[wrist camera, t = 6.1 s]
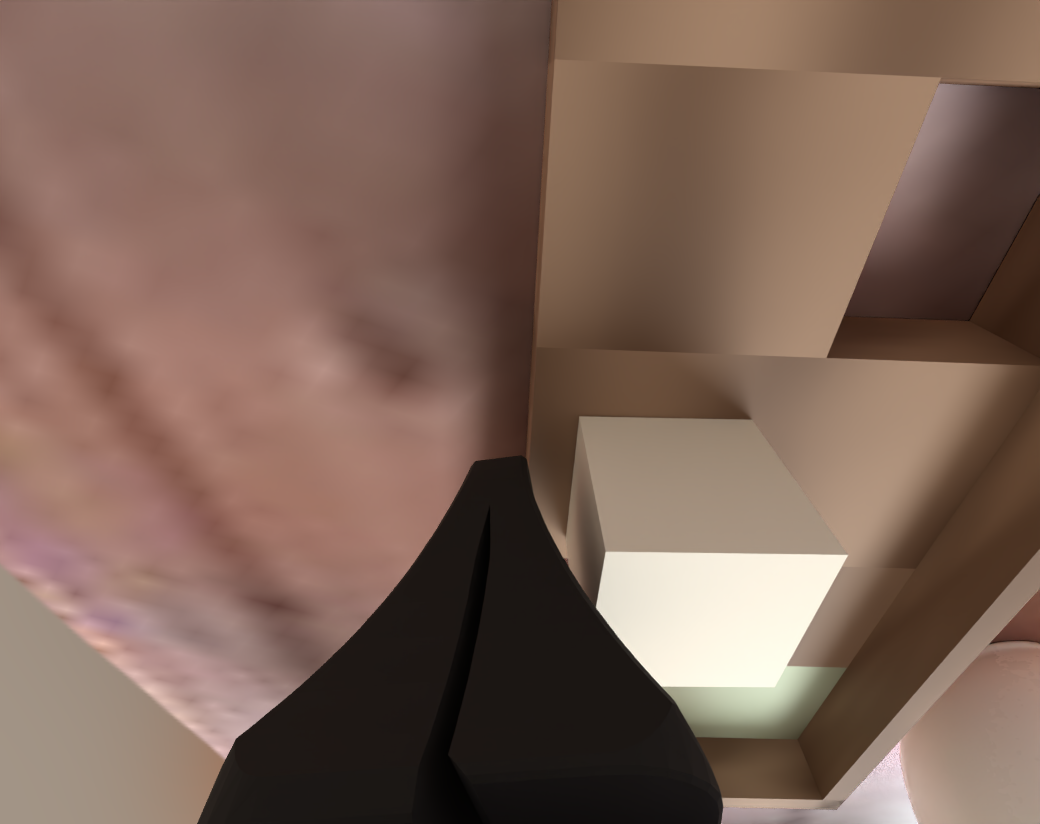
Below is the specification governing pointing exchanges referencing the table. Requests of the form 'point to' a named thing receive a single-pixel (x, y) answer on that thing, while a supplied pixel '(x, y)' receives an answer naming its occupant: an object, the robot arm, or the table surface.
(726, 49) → the board
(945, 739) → the lidded jar
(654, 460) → the cream block
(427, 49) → the table surface
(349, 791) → the robot arm
